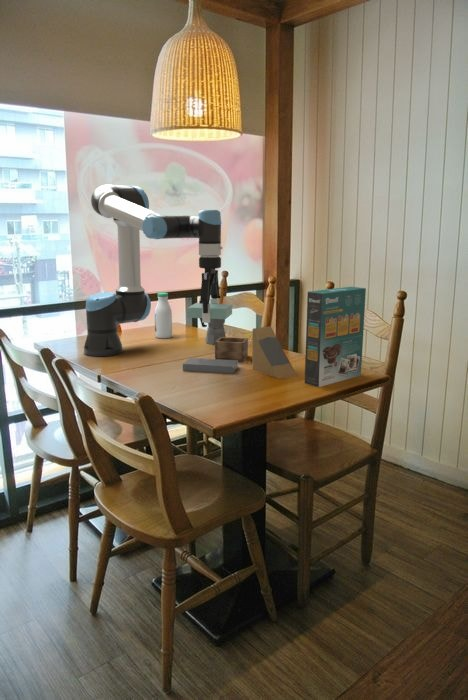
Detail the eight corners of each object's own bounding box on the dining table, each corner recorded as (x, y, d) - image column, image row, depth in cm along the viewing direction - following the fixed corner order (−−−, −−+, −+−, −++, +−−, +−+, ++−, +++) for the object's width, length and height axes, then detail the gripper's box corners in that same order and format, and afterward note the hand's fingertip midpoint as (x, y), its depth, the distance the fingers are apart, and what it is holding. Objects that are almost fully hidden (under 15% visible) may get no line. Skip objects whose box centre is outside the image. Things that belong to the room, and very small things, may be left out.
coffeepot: (222, 338, 252) (222, 298, 248) (234, 342, 245) (234, 301, 240) (192, 343, 243) (192, 301, 239) (204, 346, 236) (204, 304, 232)
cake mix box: (346, 371, 198) (351, 286, 191) (360, 375, 194) (365, 288, 187) (304, 383, 184) (307, 291, 177) (318, 387, 180) (322, 293, 173)
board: (182, 370, 198) (182, 363, 198) (189, 364, 207) (189, 357, 206) (232, 373, 195) (232, 366, 194) (237, 367, 204) (237, 360, 203)
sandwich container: (278, 379, 189) (279, 335, 185) (251, 369, 201) (251, 328, 198) (298, 375, 194) (299, 332, 190) (270, 366, 206) (270, 325, 202)
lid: (187, 317, 193) (187, 307, 192) (196, 312, 203) (196, 302, 203) (225, 319, 190) (225, 308, 189) (232, 313, 201) (232, 304, 200)
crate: (215, 359, 214) (215, 341, 213) (220, 354, 223) (220, 337, 221) (243, 361, 212) (243, 343, 211) (247, 355, 221) (247, 338, 219)
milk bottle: (175, 336, 256) (174, 292, 252) (165, 339, 250) (164, 294, 246) (162, 334, 260) (161, 291, 256) (151, 337, 254) (150, 293, 250)
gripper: (212, 258, 180) (213, 326, 185) (227, 254, 203) (227, 314, 208) (190, 258, 182) (190, 325, 186) (207, 254, 204) (208, 313, 209)
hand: (210, 319), depth 197 cm, fingers closed on lid, 11 cm apart
